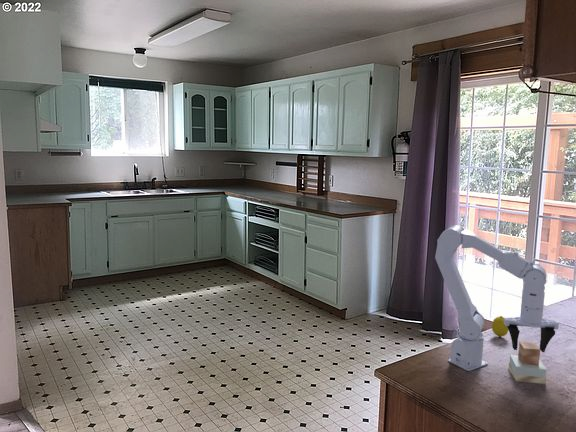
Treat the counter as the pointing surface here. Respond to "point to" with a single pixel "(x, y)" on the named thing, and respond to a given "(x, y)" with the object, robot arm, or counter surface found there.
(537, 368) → the tower top
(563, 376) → the counter surface
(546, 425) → the counter surface
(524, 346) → the block
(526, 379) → the tower base
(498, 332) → the lemon
